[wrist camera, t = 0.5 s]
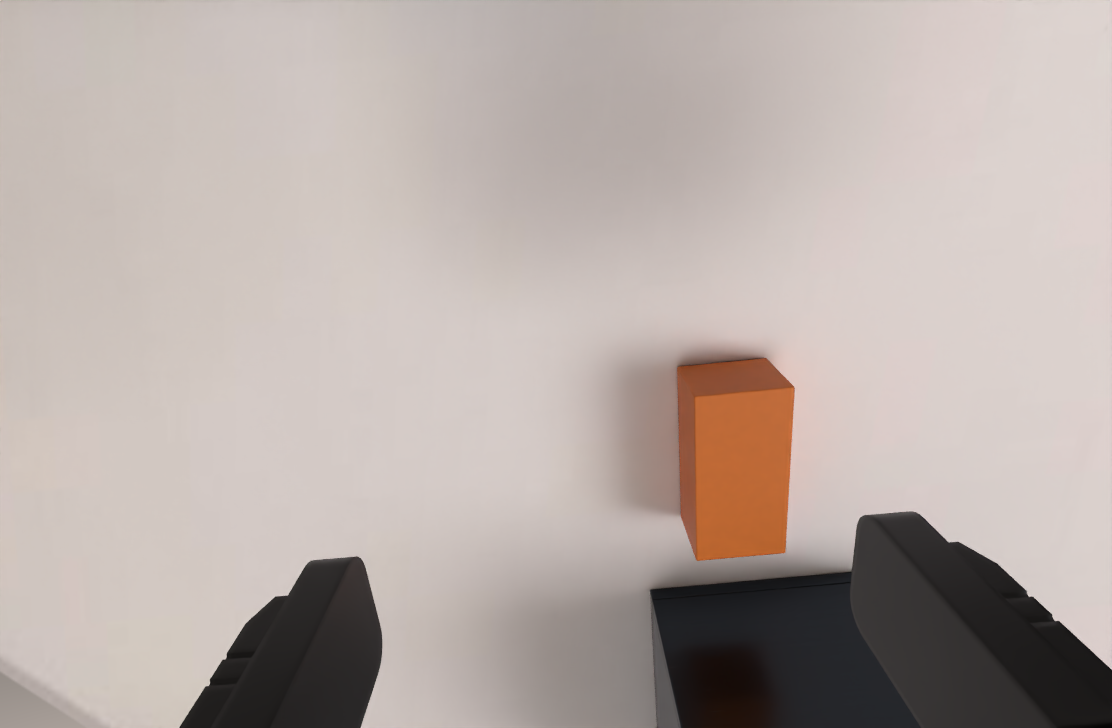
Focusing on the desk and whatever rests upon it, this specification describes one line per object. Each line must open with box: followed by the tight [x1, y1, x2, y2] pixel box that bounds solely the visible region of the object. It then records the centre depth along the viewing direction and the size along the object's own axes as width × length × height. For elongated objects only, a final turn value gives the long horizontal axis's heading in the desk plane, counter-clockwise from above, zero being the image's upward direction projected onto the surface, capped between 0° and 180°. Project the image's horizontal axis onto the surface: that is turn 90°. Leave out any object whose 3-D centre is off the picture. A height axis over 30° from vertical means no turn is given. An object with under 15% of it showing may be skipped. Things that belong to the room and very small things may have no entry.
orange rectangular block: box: [677, 358, 795, 561], centre depth 28 cm, size 9×4×4 cm, turn 6°
